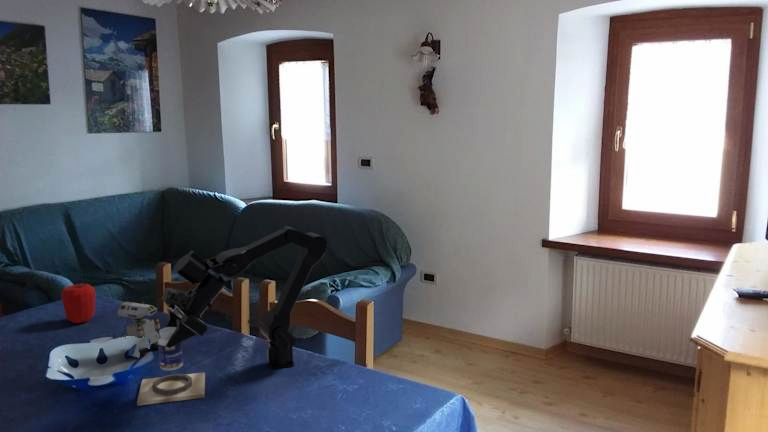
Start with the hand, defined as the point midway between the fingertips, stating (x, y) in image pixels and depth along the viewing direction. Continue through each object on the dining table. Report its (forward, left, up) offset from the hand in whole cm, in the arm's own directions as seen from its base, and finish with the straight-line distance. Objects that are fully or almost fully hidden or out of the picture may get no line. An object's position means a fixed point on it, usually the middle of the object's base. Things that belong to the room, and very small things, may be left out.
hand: (164, 343), depth 159 cm
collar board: (-1, -1, -13) cm, 13 cm away
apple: (+32, -63, -13) cm, 71 cm away
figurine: (+10, -30, -13) cm, 34 cm away
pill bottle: (-1, 0, -7) cm, 7 cm away
